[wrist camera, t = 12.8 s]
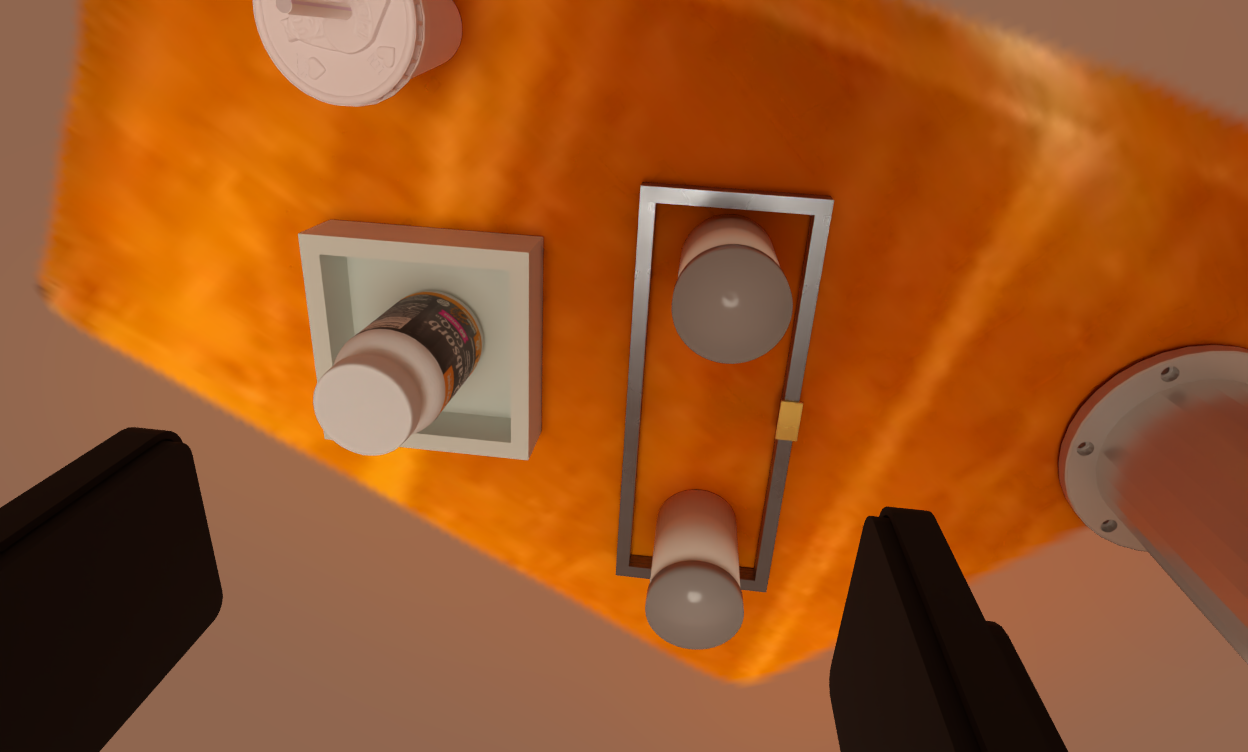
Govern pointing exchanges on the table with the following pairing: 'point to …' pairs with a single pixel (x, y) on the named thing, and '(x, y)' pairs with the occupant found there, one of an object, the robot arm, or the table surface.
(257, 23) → the smoothie
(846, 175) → the table surface
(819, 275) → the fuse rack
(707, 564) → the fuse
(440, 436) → the tray
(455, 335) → the pill bottle
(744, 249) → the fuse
